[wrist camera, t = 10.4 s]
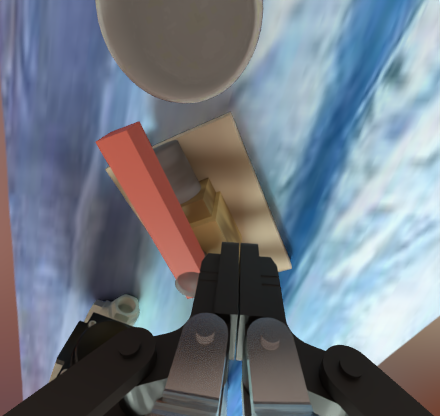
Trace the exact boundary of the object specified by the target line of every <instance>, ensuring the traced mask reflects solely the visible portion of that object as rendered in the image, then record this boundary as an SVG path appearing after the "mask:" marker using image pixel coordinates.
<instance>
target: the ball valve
mask: <svg viewBox="0 0 440 416" xmlns="http://www.w3.org/2000/svg"><path fill="white" fill-rule="evenodd" d="M139 314H140V309H139V304H138V300H137V298H135V297H133V296H130V295H127V294H124V295H122V296H120V297H119V298H117V299H115V300H114V301H112V302H111V301H108V300H106V302H104V301H101V300H99V299H97V300H96V301H95V302H94V304H93V305H92V307H91V309H90V311H89V313H88V315H87V317H86V319H85V321H84V322H82V321H79V322H78V324H77V326H76V327H75V329H74V331H73V332H72V334H71V336H70V337H69V339H68V341H67V342H66V344H65V345H64V347H63V349H62V350H61V352H60V354H59V355H58V357H57V360H56V363H55V366H54V369H53V372H52V375H51V378H50V381H49V382H51V381H52V380H53V379H55V378H56V377H58V376H59V375H60V374H62V373H63V372H65V371H66V370H67V369H69V368H70V367H72V366H73V365H74V364H76V363H77V362H79V361H80V360H81V359H83V358H84V357H86V356H87V355H88V354H90V353H91V352H93V351H94V350H95V349H97V348H98V347H100V346H101V345H102V344H104V343H105V342H107V341H108V340H109V339H111V338H112V337H114V336H115V335H116V334H118V333H119V332H121V331H123V330H125V329H128V328H133V326H134V324H135V322H136V320H137V319H138V317H139Z"/></svg>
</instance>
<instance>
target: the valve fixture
mask: <svg viewBox="0 0 440 416" xmlns="http://www.w3.org/2000/svg"><path fill="white" fill-rule="evenodd" d="M152 148H153V150H154V152H155V154H156V156H157V158H158V160H159V163H160V165H161V167H162V169H163V171H164V173H165V175H166V177H167V179H168V181H169V183H170V185H171V187H172V189H173V191H174V193H175V195H176V197H177V199H178V201H179V203H180V205H181V208H182V210H183V212H184V214H185V216H186V218H187V220H188V222H189V224H190V226H191V228H192V230H193V232H194V234H195V236H196V238H197V240H198V242H199V244H200V246H201V248H202V250H203V253H204V255H207V254H208V253H215V254H221V245H222V242H236V243H239V256H240V244H241V243H253V244H258V247H259V256H261V257H271V258H272V260H273V261H274V263H275V264H276V265H277V268H278V272H280V271H284V270H288V269H291V268H292V266H291V262H290V259H289V256H288V254H287V251H286V249H285V246H284V244H283V241H282V239H281V236H280V234H279V231H278V229H277V226H276V224H275V221H274V219H273V216H272V214H271V211H270V209H269V206H268V204H267V201H266V199H265V196H264V194H263V191H262V189H261V186H260V184H259V181H258V179H257V176H256V174H255V171H254V169H253V166H252V164H251V161H250V159H249V156H248V154H247V151H246V149H245V146H244V144H243V141H242V139H241V136H240V134H239V131H238V129H237V126H236V124H235V121H234V119H233V116H232V114H231V112H229V113H226V114H224V115H222V116H220V117H217V118H215V119H213V120H210V121H208V122H206V123H204V124H201V125H199V126H197V127H195V128H192V129H190V130H188V131H186V132H183V133H181V134H179V135H176V136H174V137H172V138H170V139H167V140H165V141H163V142H161V143H158V144H156V145H154V146H152ZM105 170H106V171H107V173H108V174H109V176H110V177H111V178H112V180H113V181H114V183H115V184H116V186H117V187H118V189H119V190H120V192H121V193H122V195H123V196H124V198H125V199H126V201H127V202H128V204H129V205H130V206H131V208H132V209H133V211H134V212H135V214H136V215H137V217H138V218H139V220H140V221H141V219H140V217H139V216H138V214H137V212H136V210H135V209H134V207H133V205H132V204H131V202H130V200H129V198H128V197H127V195H126V193H125V192H124V190H123V188H122V187H121V185H120V183H119V181H118V180H117V178H116V176H115V175H114V173H113V171H112V169H111V168H110V166H109V167H107V168H106V169H105ZM141 223H142V224H143V222H142V221H141ZM143 226H144V224H143ZM144 227H145V226H144ZM145 229H146V227H145ZM146 230H147V229H146Z"/></svg>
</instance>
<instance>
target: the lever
mask: <svg viewBox="0 0 440 416" xmlns="http://www.w3.org/2000/svg"><path fill="white" fill-rule="evenodd" d="M96 144H97V146H98V147H99V149H100V151H101V152H102V154H103V156H104V158H105V159H106V161H107V163H108V164H109V166H110V168H111V169H112V171H113V173H114V175H115V176H116V178H117V180H118V181H119V183H120V185H121V187H122V188H123V190H124V192H125V193H126V195H127V197H128V198H129V200H130V202H131V204H132V205H133V207H134V209H135V210H136V212H137V214H138V216H139V217H140V219H141V221H142V222H143V224H144V226H145V227H146V229H147V231H148V233H149V234H150V236H151V238H152V239H153V241H154V243H155V244H156V246H157V248H158V250H159V251H160V253H161V255H162V256H163V258H164V260H165V262H166V263H167V265H168V267H169V268H170V270H171V272H172V273H173V275H174V277H175V279H176V281H175V285H176V288H177V289H178V291H179V292H180V293H182V294H183V295H185V296H186V297H187V299H189V298H195V293H196V288H197V282H198V277H199V273H200V267H201V262H202V260H203V259H204V258H205V257H206V255H204V253H203V250H202V248H201V246H200V244H199V242H198V240H197V238H196V236H195V234H194V232H193V230H192V228H191V226H190V224H189V222H188V220H187V218H186V216H185V214H184V212H183V210H182V208H181V205H180V203H179V201H178V199H177V197H176V195H175V193H174V191H173V189H172V187H171V185H170V183H169V181H168V179H167V177H166V175H165V173H164V171H163V169H162V167H161V165H160V163H159V160H158V158H157V156H156V154H155V152H154V150H153V148H152V146H151V144H150V142H149V140H148V138H147V136H146V134H145V132H144V130H143V128H142V126H141V124H140V122H136V123H134V124H131V125H128V126H126V127H123V128H120V129H118V130H115V131H113V132H110V133H109V134H107V135H106V136H104V137H102V138H101V139H99V140H98V141H96Z"/></svg>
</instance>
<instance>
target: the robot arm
mask: <svg viewBox="0 0 440 416" xmlns="http://www.w3.org/2000/svg"><path fill="white" fill-rule="evenodd" d="M236 330H237V333H236ZM235 341H236V360H240V361H242V381H241V393H242V408H243V416H433V415H432V414H431V413H430V412H429V411H428V410H427V409H425V408H424V407H423V406H422V405H421V404H420V403H419V402H417V401H416V400H415V399H414V398H413V397H412V396H410V395H409V394H408V393H407V392H406V391H405V390H404V389H402V388H401V387H400V386H399V385H398V384H397V383H396V382H394V381H393V380H392V379H391V378H390V377H389V376H388V375H386V374H385V373H384V372H383V371H382V370H381V369H379V368H378V367H377V366H376V365H375V364H374V363H373V362H371V361H370V360H369V359H368V358H367V357H366V356H365V355H363V354H362V353H361V352H359V351H358V350H356V349H354V348H352V347H349V346H345V345H335V346H332V347H330V348H328V349H327V350H326V351H324V350H322V349H319V348H316V347H314V346H311V345H309V344H307V343H304V342H303V341H301V340H300V339H298V338H297V337H296V336H295V335H294V334H293V333H292V332H291V330H290V329H289V327H288V325H287V323H286V318H285V312H284V306H283V299H282V293H281V287H280V281H279V275H278V268H277V265H276V264H275V263H274V261H273V260H272V258H271V257H261V256H259V247H258V244H253V243H241V244H240V256H239V243H236V242H222V245H221V254H215V253H208V254H207V255H206V257H205V258H204V259H203V260H202V262H201V267H200V273H199V277H198V282H197V288H196V293H195V298H194V303H193V308H192V312H191V316H190V318H189V320H188V321H187V322H186V323H185V324H184V325H183V326H182V327H181V328H179V329H178V330H176V331H173V332H170V333H166V334H162V335H158V336H153V335H152V334H151V332H149V331H148V330H146V329H144V328H140V327H133V328H128V329H125V330H123V331H121V332H119V333H118V334H116V335H115V336H114V337H112V338H111V339H109V340H108V341H107V342H105V343H104V344H102V345H101V346H100V347H98V348H97V349H95V350H94V351H93V352H91V353H90V354H88V355H87V356H86V357H84V358H83V359H81V360H80V361H79V362H77V363H76V364H74V365H73V366H72V367H70V368H69V369H67V370H66V371H65V372H63V373H62V374H60V375H59V376H58V377H56V378H55V379H53V380H52V381H51V382H49V383H48V384H46V385H45V386H44V387H42V388H41V389H39V390H38V391H37V392H35V393H34V394H32V395H31V396H30V397H28V398H27V399H25V400H24V401H23V402H21V403H20V404H18V405H17V406H16V407H14V408H13V409H11V410H10V411H9V412H7V413H6V414H4V415H3V416H227V395H228V382H227V377H228V364H229V360H234V353H235Z"/></svg>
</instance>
